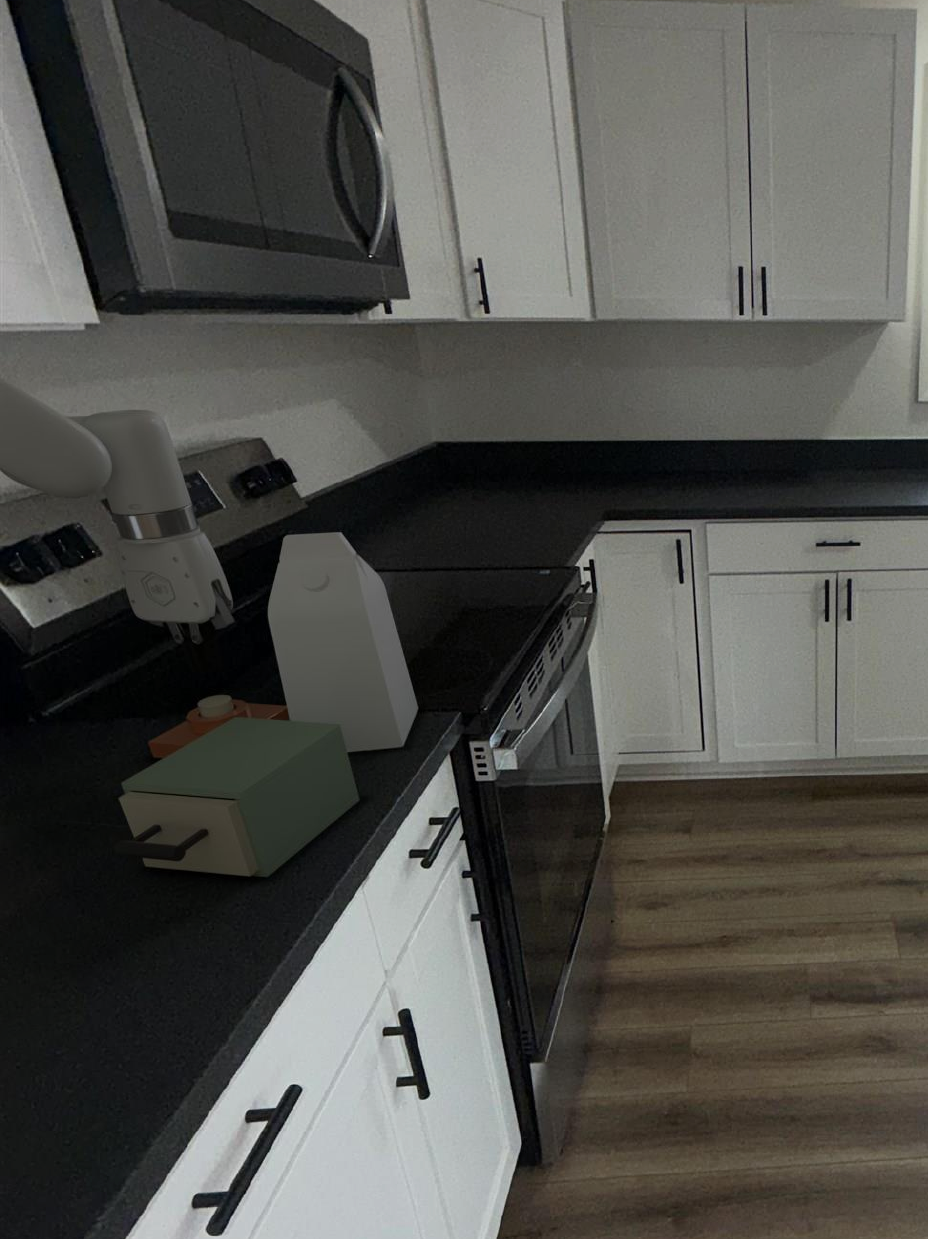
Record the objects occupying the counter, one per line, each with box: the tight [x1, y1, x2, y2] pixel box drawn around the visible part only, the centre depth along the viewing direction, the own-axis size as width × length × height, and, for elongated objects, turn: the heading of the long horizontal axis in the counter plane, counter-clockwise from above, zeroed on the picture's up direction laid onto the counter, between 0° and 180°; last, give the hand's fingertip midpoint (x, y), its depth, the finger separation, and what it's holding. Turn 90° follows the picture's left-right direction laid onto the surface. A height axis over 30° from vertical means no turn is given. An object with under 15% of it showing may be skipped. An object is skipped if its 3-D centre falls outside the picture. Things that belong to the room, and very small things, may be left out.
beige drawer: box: [113, 792, 259, 877], centre depth 88 cm, size 18×11×8 cm, turn 172°
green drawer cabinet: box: [120, 717, 360, 878], centre depth 91 cm, size 15×13×10 cm
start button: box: [197, 694, 235, 718], centre depth 111 cm, size 4×4×2 cm
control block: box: [147, 699, 290, 759], centre depth 112 cm, size 12×10×4 cm
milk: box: [267, 531, 419, 753], centre depth 109 cm, size 12×12×26 cm
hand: (207, 669), depth 109 cm, fingers closed
